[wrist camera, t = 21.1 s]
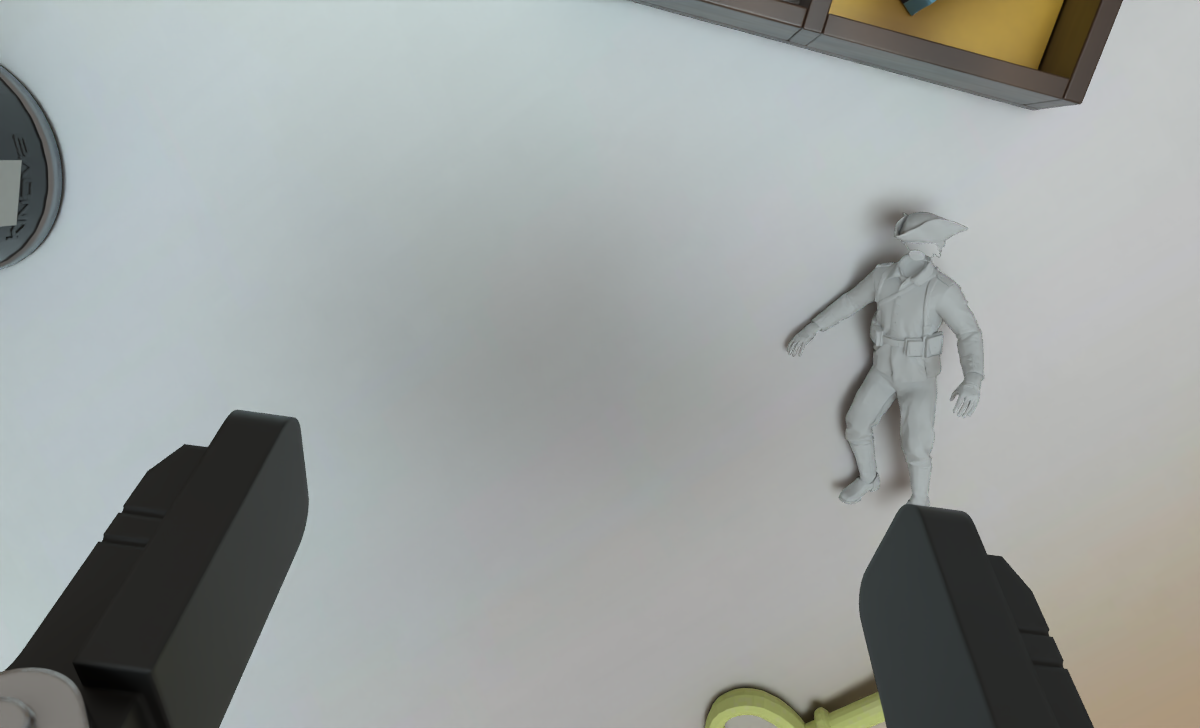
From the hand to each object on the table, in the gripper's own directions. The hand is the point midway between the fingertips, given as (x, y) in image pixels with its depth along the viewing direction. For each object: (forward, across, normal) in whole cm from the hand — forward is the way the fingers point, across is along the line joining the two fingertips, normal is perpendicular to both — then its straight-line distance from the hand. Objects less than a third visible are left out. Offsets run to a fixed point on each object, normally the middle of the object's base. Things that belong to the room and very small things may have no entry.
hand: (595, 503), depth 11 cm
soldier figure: (+20, -13, +11) cm, 26 cm away
